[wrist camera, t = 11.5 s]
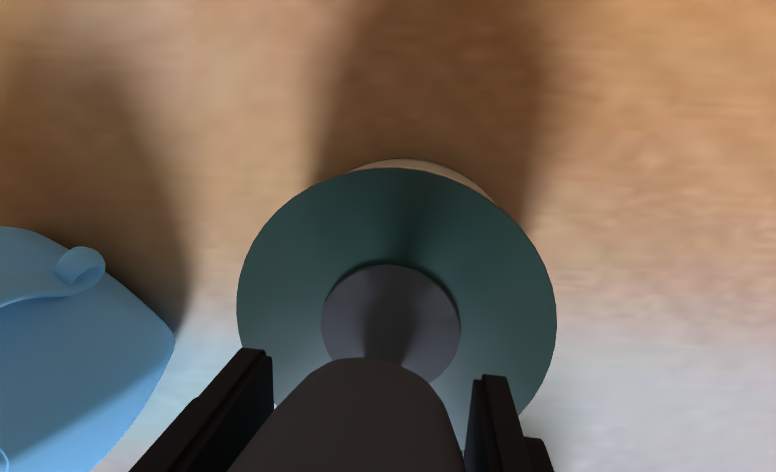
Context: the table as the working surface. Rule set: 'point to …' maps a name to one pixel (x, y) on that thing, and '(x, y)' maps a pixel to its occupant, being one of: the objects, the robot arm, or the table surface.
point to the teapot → (69, 355)
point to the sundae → (370, 384)
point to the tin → (408, 249)
